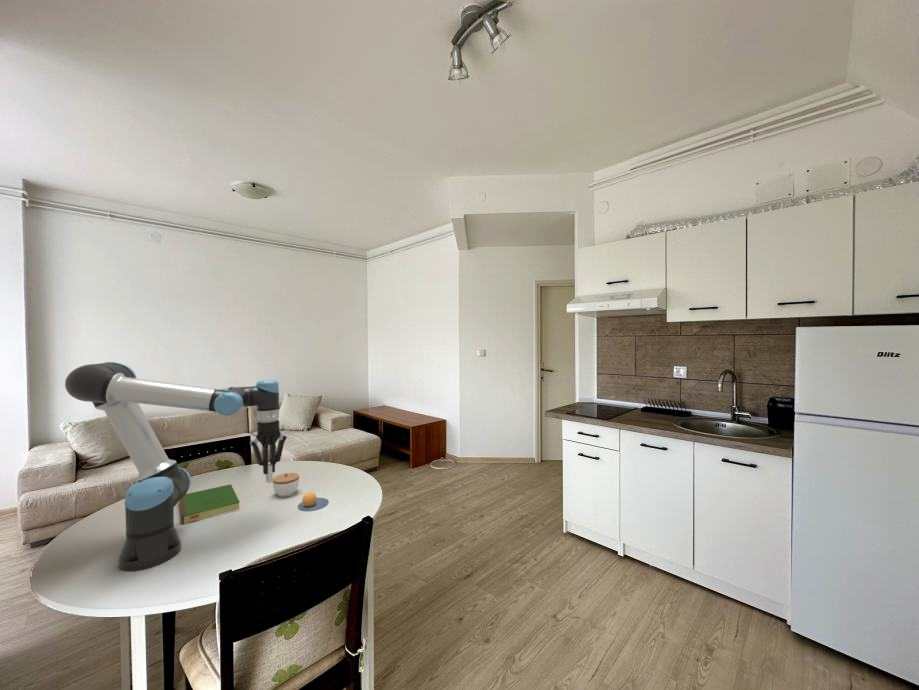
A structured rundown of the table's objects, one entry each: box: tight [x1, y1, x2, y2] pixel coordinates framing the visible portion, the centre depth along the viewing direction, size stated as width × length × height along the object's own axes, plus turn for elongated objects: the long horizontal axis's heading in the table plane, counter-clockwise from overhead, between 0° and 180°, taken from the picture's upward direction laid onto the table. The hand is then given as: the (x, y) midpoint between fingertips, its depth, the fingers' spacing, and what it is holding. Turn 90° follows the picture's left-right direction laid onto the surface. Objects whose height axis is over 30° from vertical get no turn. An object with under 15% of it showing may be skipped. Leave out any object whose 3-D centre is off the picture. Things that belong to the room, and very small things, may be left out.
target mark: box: [297, 497, 330, 512], centre depth 153 cm, size 12×12×1 cm
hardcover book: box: [179, 484, 241, 525], centre depth 152 cm, size 25×19×4 cm
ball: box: [301, 491, 318, 507], centre depth 151 cm, size 6×6×6 cm
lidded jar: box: [272, 472, 300, 498], centre depth 163 cm, size 11×11×9 cm
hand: (269, 481), depth 140 cm, fingers closed
